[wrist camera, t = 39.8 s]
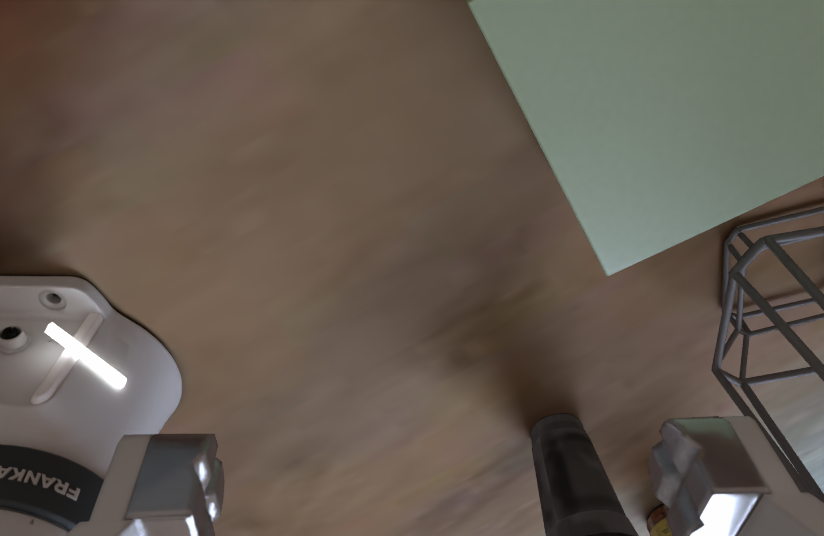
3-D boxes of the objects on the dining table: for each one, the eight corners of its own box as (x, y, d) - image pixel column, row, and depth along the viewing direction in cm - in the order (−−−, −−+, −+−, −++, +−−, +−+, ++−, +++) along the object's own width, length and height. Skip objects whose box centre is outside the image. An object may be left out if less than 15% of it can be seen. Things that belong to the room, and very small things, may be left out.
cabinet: (436, -58, 31) (466, 2, 23) (736, -254, 27) (908, -271, 19) (552, 169, 39) (607, 277, 31) (796, 42, 36) (936, 124, 27)
